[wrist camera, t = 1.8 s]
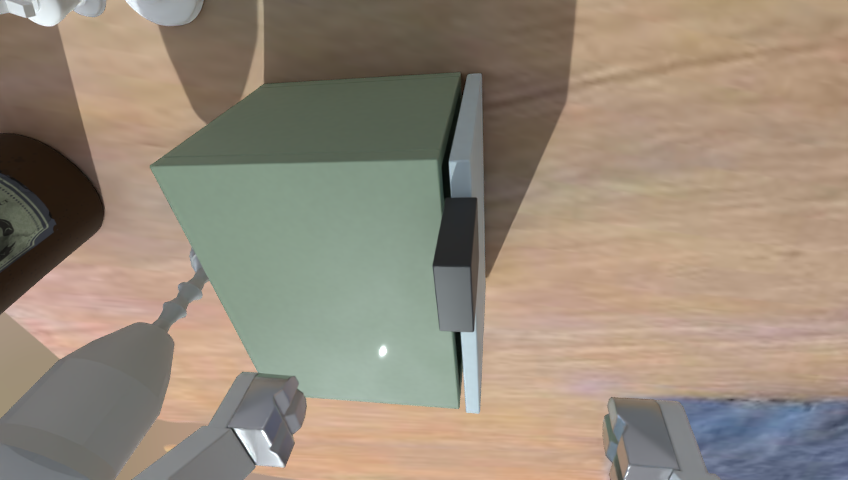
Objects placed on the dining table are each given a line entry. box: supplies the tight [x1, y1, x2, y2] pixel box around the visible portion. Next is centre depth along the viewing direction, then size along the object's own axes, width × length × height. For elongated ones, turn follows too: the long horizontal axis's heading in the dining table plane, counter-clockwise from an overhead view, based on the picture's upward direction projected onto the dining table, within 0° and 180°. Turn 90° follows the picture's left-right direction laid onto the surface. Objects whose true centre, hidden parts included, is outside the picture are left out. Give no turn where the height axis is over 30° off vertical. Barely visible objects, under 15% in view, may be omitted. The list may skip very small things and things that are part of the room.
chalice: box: [0, 248, 210, 480], centre depth 28 cm, size 7×7×18 cm
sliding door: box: [432, 73, 486, 413], centre depth 23 cm, size 1×16×15 cm, turn 6°
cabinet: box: [150, 72, 463, 409], centre depth 26 cm, size 12×16×11 cm
